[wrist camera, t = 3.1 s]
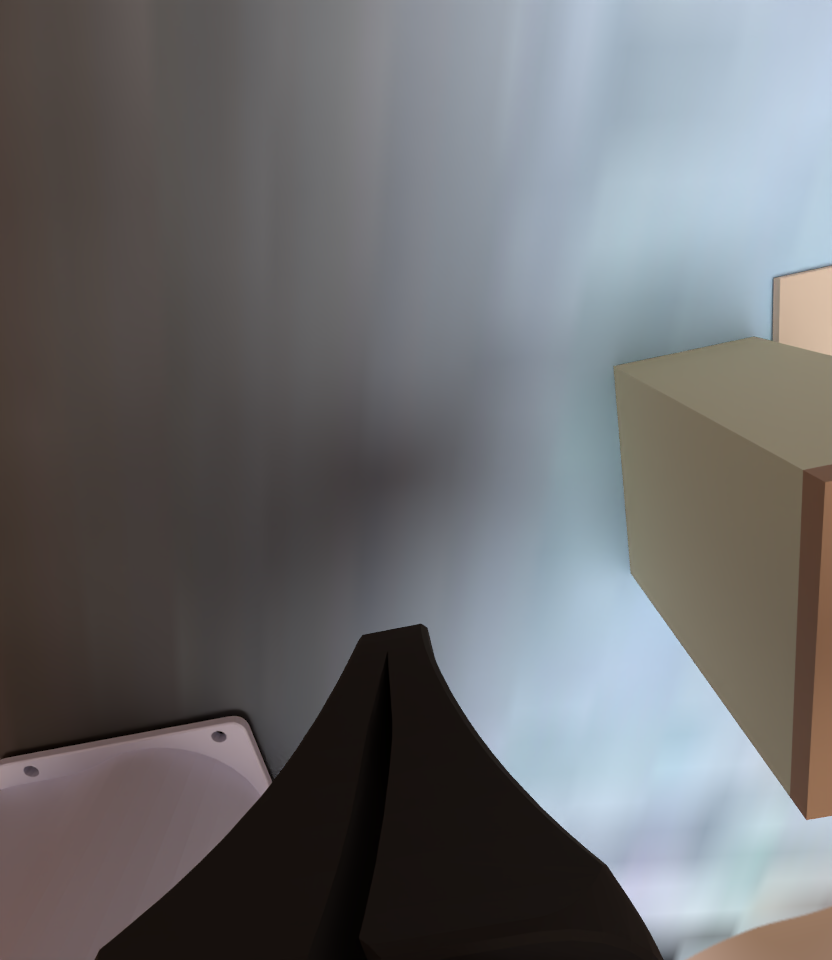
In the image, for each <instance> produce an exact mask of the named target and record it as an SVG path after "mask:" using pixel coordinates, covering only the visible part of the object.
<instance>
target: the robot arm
mask: <svg viewBox="0 0 832 960" xmlns="http://www.w3.org/2000/svg"><path fill="white" fill-rule="evenodd" d="M217 731H221V732H223V733H225V734H220V733H218V732H217ZM0 960H663V958H662V956H661V954H660V951H659V949H658V947H657V945H656V943H655V941H654V940H653V938H652V936H651V934H650V932H649V930H648V929H647V927H646V925H645V923H644V922H643V920H642V918H641V917H640V915H639V913H638V912H637V910H636V909H635V907H634V905H633V904H632V902H631V901H630V899H629V898H628V896H627V895H626V893H625V892H624V890H623V889H622V887H621V886H620V884H619V883H618V881H617V880H616V878H615V877H614V875H613V874H612V872H611V871H610V869H609V868H608V866H607V865H606V864H605V863H603V862H602V861H601V860H600V859H598V858H597V857H596V856H595V855H594V854H592V853H591V852H590V851H589V850H588V849H586V848H585V847H584V846H583V845H582V844H581V843H579V842H578V841H577V840H576V839H575V838H574V837H573V836H571V835H570V834H569V833H568V832H567V831H566V830H565V829H564V828H562V827H561V826H560V825H559V824H558V823H557V822H556V821H555V820H554V819H553V818H552V817H551V816H550V815H549V814H548V813H547V812H546V811H545V810H543V809H542V808H541V807H540V806H539V804H538V803H537V802H536V801H535V800H534V799H533V798H532V797H531V796H530V795H529V794H528V793H527V792H526V791H525V790H524V789H523V787H522V786H521V785H520V784H519V783H518V782H517V781H516V780H515V779H514V778H513V777H512V776H511V775H510V774H509V772H508V771H507V770H506V769H505V768H504V766H503V765H502V764H501V763H500V762H499V760H498V759H497V758H496V757H495V756H494V754H493V753H492V752H491V750H490V749H489V748H488V747H487V745H486V744H485V743H484V741H483V740H482V739H481V737H480V736H479V735H478V733H477V732H476V730H475V729H474V727H473V726H472V725H471V723H470V722H469V720H468V719H467V717H466V715H465V714H464V712H463V711H462V709H461V708H460V706H459V704H458V703H457V701H456V699H455V698H454V696H453V694H452V693H451V691H450V689H449V687H448V685H447V683H446V681H445V679H444V677H443V675H442V674H441V672H440V669H439V667H438V665H437V663H436V660H435V657H434V653H433V649H432V645H431V641H430V636H429V632H428V628H427V627H425V626H424V625H422V624H417V625H412V626H407V627H402V628H396V629H391V630H386V631H381V632H376V633H370V634H365V635H362V637H361V638H360V639H359V641H358V643H357V645H356V647H355V649H354V651H353V653H352V655H351V657H350V659H349V661H348V663H347V665H346V667H345V669H344V671H343V673H342V674H341V676H340V678H339V680H338V682H337V684H336V686H335V687H334V689H333V691H332V693H331V694H330V696H329V698H328V700H327V701H326V703H325V705H324V707H323V708H322V710H321V712H320V713H319V715H318V717H317V718H316V720H315V721H314V723H313V725H312V726H311V728H310V729H309V731H308V732H307V734H306V735H305V737H304V738H303V740H302V742H301V743H300V745H299V746H298V748H297V749H296V751H295V752H294V753H293V755H292V756H291V758H290V759H289V761H288V762H287V763H286V765H285V766H284V767H283V769H282V770H281V771H280V773H279V774H278V775H277V777H276V778H275V779H274V781H273V782H272V780H271V778H270V775H269V773H268V770H267V768H266V765H265V763H264V761H263V758H262V756H261V753H260V751H259V748H258V746H257V743H256V741H255V739H254V736H253V734H252V731H251V729H250V726H249V724H248V723H247V721H246V720H245V719H243V718H242V717H238V716H228V717H223V718H218V719H212V720H207V721H202V722H196V723H191V724H186V725H180V726H175V727H169V728H164V729H159V730H153V731H148V732H143V733H137V734H132V735H126V736H121V737H116V738H110V739H105V740H100V741H94V742H89V743H83V744H78V745H73V746H67V747H62V748H57V749H51V750H46V751H40V752H35V753H30V754H24V755H19V756H14V757H8V758H4V759H1V760H0Z"/></svg>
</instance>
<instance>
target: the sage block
mask: <svg viewBox="0 0 832 960" xmlns="http://www.w3.org/2000/svg"><path fill="white" fill-rule="evenodd" d="M613 367H614V379H615V391H616V403H617V415H618V427H619V439H620V451H621V463H622V475H623V487H624V499H625V511H626V523H627V535H628V547H629V559H630V571H631V574H632V576H633V577H634V579H635V580H636V581H637V583H638V584H639V586H640V587H641V589H642V590H643V591H644V593H645V594H646V596H647V597H648V598H649V600H650V601H651V603H652V604H653V605H654V607H655V608H656V610H657V611H658V612H659V614H660V615H661V617H662V618H663V619H664V621H665V622H666V624H667V625H668V626H669V628H670V629H671V631H672V632H673V633H674V635H675V636H676V638H677V639H678V640H679V642H680V643H681V645H682V646H683V647H684V649H685V650H686V652H687V653H688V654H689V656H690V657H691V659H692V660H693V661H694V663H695V664H696V666H697V667H698V668H699V670H700V671H701V673H702V674H703V675H704V677H705V678H706V680H707V681H708V683H709V684H710V685H711V687H712V688H713V690H714V691H715V692H716V694H717V695H718V697H719V698H720V699H721V701H722V702H723V704H724V705H725V706H726V708H727V709H728V711H729V712H730V713H731V715H732V716H733V718H734V719H735V720H736V722H737V723H738V725H739V726H740V727H741V729H742V730H743V732H744V733H745V734H746V736H747V737H748V739H749V740H750V741H751V743H752V744H753V746H754V747H755V748H756V750H757V751H758V753H759V754H760V755H761V757H762V758H763V760H764V761H765V762H766V764H767V765H768V767H769V768H770V770H771V771H772V772H773V774H774V775H775V777H776V778H777V779H778V781H779V782H780V784H781V785H782V786H783V788H784V789H785V791H786V792H787V793H788V795H789V796H790V798H791V799H792V800H793V802H794V803H795V805H796V806H797V807H798V809H799V810H800V812H801V813H802V814H803V816H804V817H805V819H806V820H809V819H815V818H821V817H827V816H832V356H831V355H827V354H823V353H819V352H814V351H810V350H806V349H802V348H798V347H794V346H790V345H786V344H782V343H778V342H774V341H770V340H766V339H762V338H758V337H749V338H744V339H740V340H735V341H730V342H725V343H721V344H716V345H711V346H706V347H702V348H697V349H692V350H687V351H683V352H678V353H673V354H668V355H664V356H659V357H654V358H649V359H645V360H640V361H635V362H630V363H626V364H621V365H616V366H613Z"/></svg>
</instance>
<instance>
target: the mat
mask: <svg viewBox="0 0 832 960" xmlns="http://www.w3.org/2000/svg"><path fill="white" fill-rule="evenodd" d="M773 341H774V342H778V343H782V344H786V345H790V346H794V347H798V348H802V349H806V350H810V351H814V352H819V353H823V354H827V355H831V356H832V266H827V267H823V268H818V269H813V270H809V271H804V272H799V273H795V274H790V275H786V276H781V277H776V278H774V288H773Z"/></svg>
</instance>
